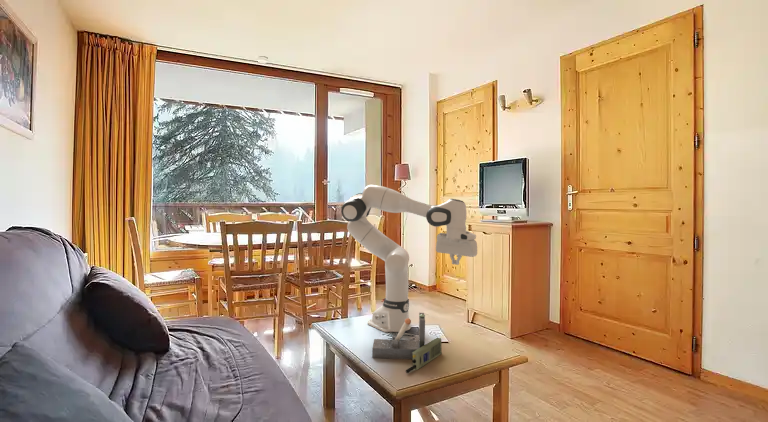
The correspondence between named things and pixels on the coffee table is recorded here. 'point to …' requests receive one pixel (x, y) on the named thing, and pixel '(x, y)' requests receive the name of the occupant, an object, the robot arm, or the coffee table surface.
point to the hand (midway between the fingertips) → (455, 264)
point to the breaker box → (399, 345)
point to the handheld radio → (425, 354)
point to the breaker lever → (403, 329)
